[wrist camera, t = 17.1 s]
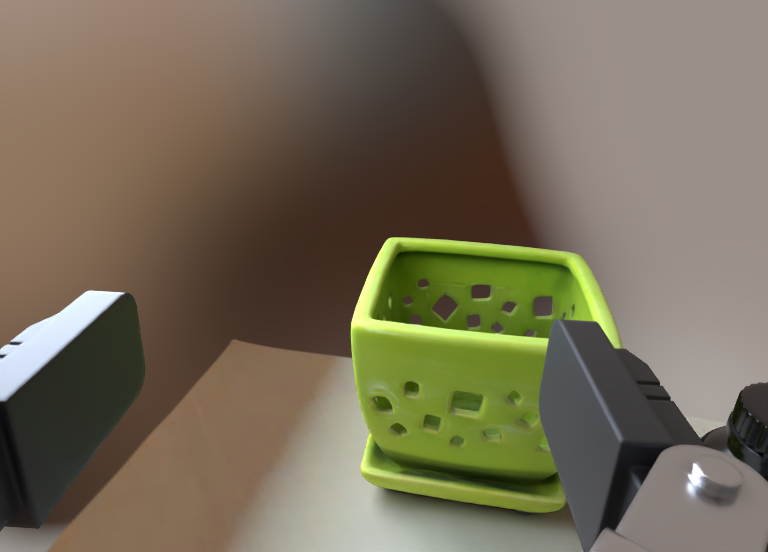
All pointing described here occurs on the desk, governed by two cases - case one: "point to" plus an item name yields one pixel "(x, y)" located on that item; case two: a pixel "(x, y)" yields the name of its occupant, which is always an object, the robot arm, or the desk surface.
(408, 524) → the desk surface
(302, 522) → the desk surface
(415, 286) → the flower pot
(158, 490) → the desk surface
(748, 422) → the supplement bottle
